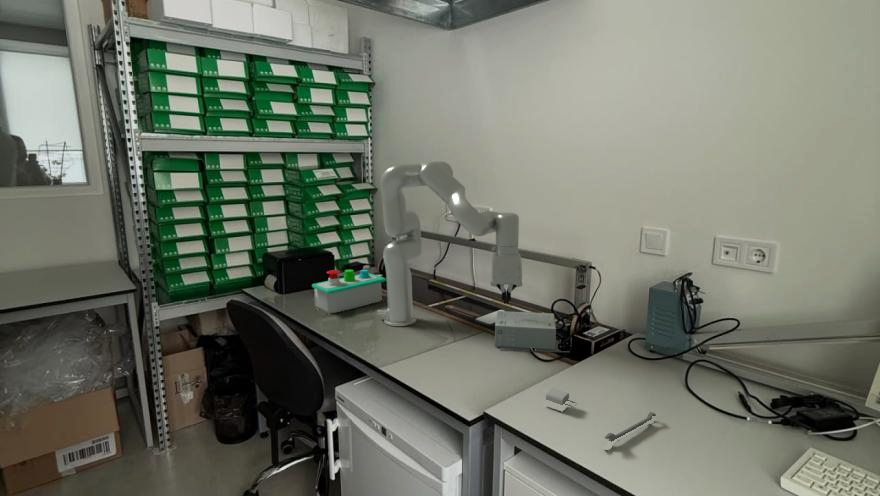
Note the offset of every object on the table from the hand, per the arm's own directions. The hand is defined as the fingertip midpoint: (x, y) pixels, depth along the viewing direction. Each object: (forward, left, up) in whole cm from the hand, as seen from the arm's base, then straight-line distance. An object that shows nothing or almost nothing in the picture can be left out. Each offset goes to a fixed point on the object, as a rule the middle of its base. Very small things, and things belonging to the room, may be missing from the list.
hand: (506, 302), depth 159 cm
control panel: (-66, +34, -13) cm, 75 cm away
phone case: (-3, +20, -14) cm, 24 cm away
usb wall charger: (+13, -45, -13) cm, 48 cm away
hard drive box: (-4, 0, -9) cm, 10 cm away
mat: (+9, 0, -13) cm, 16 cm away
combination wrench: (+26, -55, -14) cm, 62 cm away
